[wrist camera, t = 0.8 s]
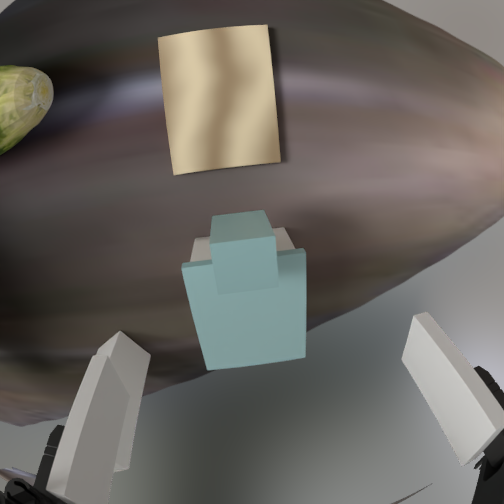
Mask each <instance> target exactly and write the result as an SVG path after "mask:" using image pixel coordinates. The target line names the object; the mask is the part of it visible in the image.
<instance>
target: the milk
mask: <svg viewBox="0 0 504 504" xmlns="http://www.w3.org/2000/svg"><path fill="white" fill-rule="evenodd" d="M96 355H108V357H109V359H110V361H111V363H112V365H113V367H114V368H115V370H116V372H117V374H118V376H119V378H120V380H121V381H122V383H123V385H124V387H125V388H126V390H127V392H128V394H129V395H130V398H129V402H128V406H127V410H126V414H125V419H124V423H123V427H122V432H121V437H120V441H119V446H118V451H117V456H116V461H115V466H114V472H118V471H122V470H125V469H128V468H129V465H130V457H131V452H132V446H133V440H134V434H135V428H136V423H137V418H138V412H139V408H140V403H141V398H142V393H143V388H144V384H145V379H146V375H147V370H148V366H149V361H150V357H151V355H150V354H149V353H148V352H146V351H145V350H144V349H142V348H141V347H140V346H139V345H137V344H136V343H135V342H134V341H132V340H131V339H130V338H129V337H128V336H126V335H125V334H124V333H123V332H122V331H119V332H118V333H117V334H115V335H114V336H113V337H112V338H110V339H109V340H108V341H107V342H106V343H104V344H103V345H102V346H101V347H100V348H99V349H98V351H97V354H96Z"/></svg>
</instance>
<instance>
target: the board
mask: <svg viewBox="0 0 504 504" xmlns="http://www.w3.org/2000/svg"><path fill="white" fill-rule="evenodd" d="M158 46H159V58H160V69H161V80H162V89H163V98H164V107H165V115H166V123H167V131H168V139H169V146H170V153H171V160H172V166H173V173H174V175H178V174H184V173H191V172H198V171H205V170H212V169H220V168H228V167H236V166H245V165H255V164H265V163H276V162H281V159H280V147H279V134H278V123H277V112H276V101H275V91H274V81H273V71H272V62H271V53H270V44H269V35H268V27H267V25H252V26H237V27H225V28H216V29H207V30H200V31H193V32H187V33H181V34H175V35H170V36H165V37H160V38H158Z"/></svg>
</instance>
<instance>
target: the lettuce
mask: <svg viewBox="0 0 504 504" xmlns="http://www.w3.org/2000/svg"><path fill="white" fill-rule="evenodd" d="M53 94H54V92H53V85H52V82H51V80H50V78H49V77H48V76H47V75H46V74H45V73H43V72H42V71H40V70H38V69H35V68H33V67H18V66H13V65H6V66H0V155H1V154H3V153H4V152H6V151H7V150H9V149H10V148H12V147H13V146H14V145H16V144H17V143H18V142H20V141H21V140H22V139H23V138H24V136H25V135H26V134H27V133H28V132H29V131H30V130H31V129H33V128H34V127H35V126H36V125H38V124H39V123H40V121H41V120H42V119H43V117H44V116H45V115H46V113H47V112H48V110H49V108H50V106H51V104H52V101H53Z"/></svg>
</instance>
